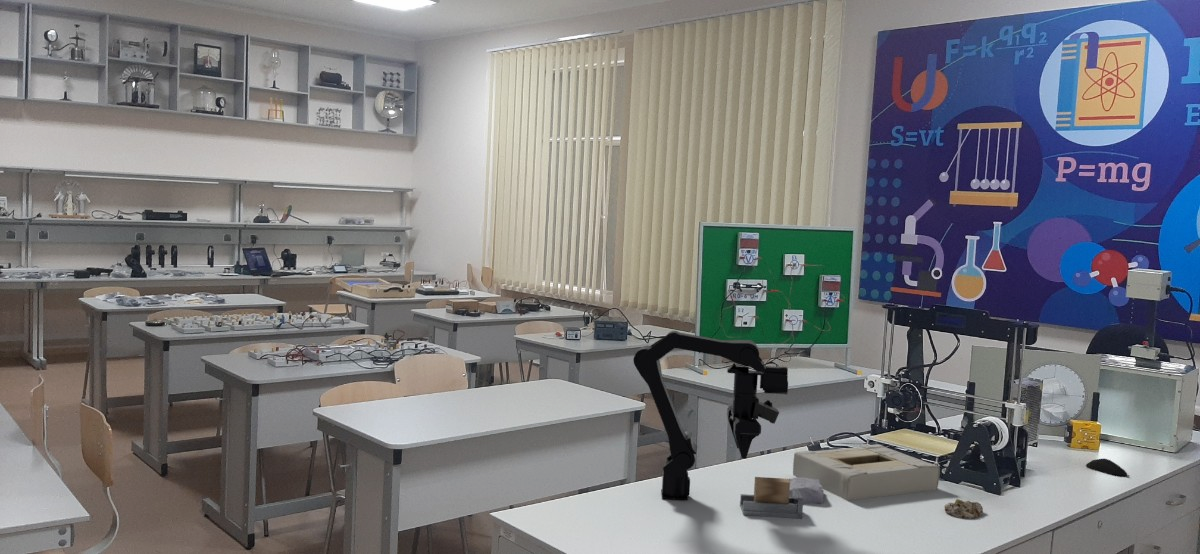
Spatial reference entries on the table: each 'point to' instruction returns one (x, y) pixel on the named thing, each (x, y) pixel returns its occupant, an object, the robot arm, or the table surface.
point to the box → (866, 471)
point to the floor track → (773, 506)
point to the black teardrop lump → (1107, 467)
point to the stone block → (807, 489)
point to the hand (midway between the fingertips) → (741, 453)
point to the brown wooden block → (771, 490)
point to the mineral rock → (964, 509)
